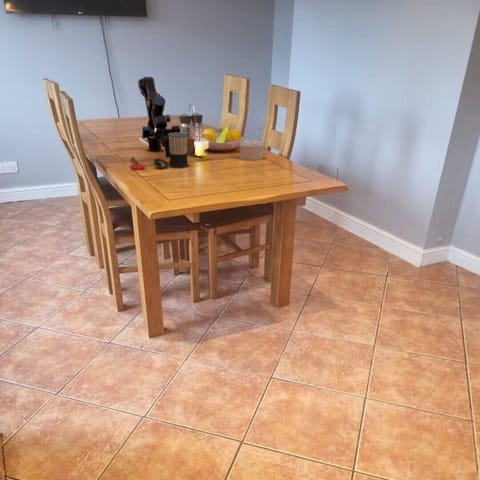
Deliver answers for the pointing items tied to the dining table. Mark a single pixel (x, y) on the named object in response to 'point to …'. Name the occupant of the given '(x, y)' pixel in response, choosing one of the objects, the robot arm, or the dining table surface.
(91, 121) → the dining table surface
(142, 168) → the spatula
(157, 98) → the robot arm
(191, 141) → the tin
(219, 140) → the fruit bowl
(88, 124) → the dining table surface
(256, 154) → the lumpy-topped squat cylinder
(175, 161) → the milk frother
